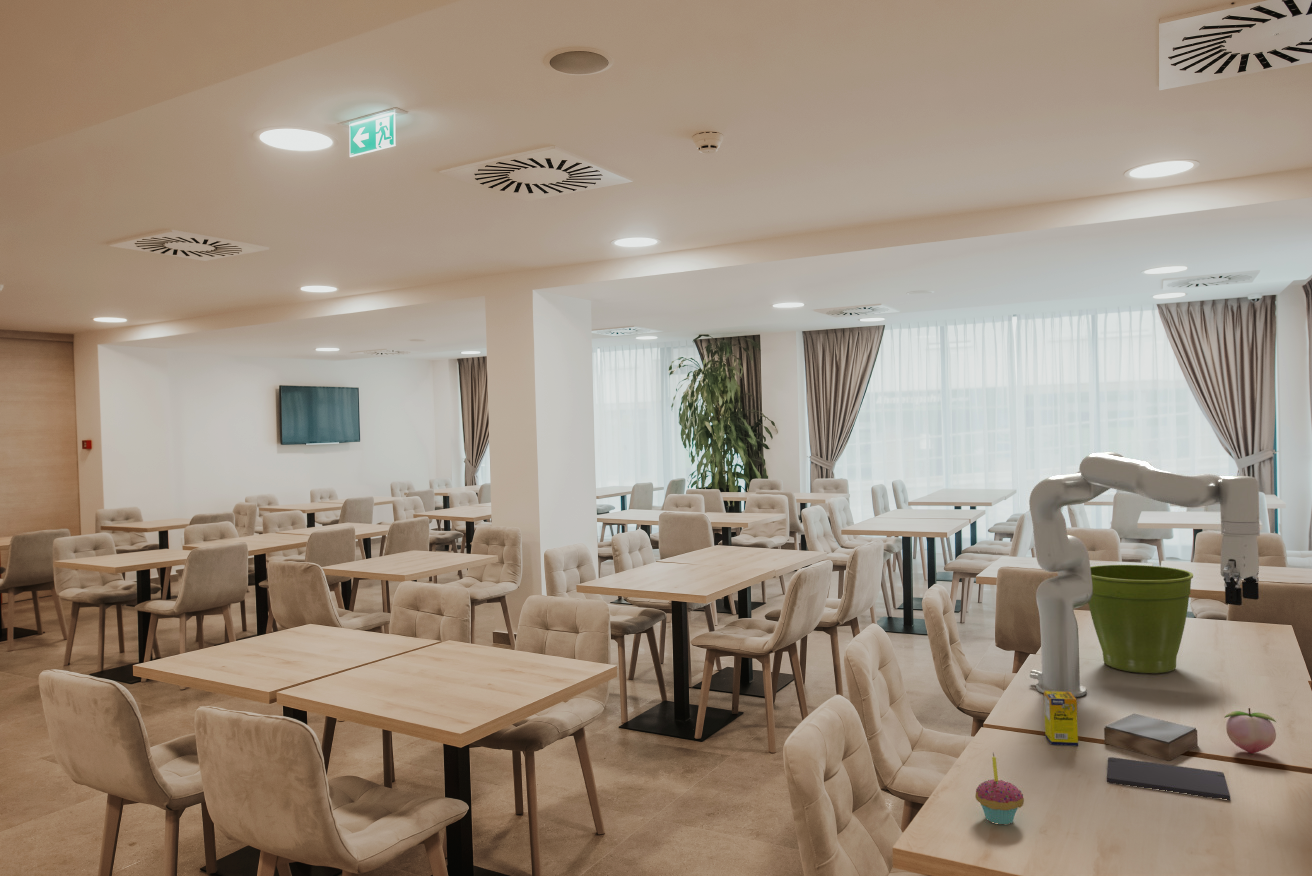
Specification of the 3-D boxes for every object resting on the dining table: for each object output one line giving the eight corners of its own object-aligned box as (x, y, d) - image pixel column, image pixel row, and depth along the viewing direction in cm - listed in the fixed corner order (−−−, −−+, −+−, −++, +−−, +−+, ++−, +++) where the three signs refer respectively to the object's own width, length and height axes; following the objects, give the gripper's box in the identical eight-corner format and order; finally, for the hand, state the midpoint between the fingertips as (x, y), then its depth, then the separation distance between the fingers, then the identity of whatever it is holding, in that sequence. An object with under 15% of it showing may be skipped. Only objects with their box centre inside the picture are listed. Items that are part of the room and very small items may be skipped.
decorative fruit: (1268, 747, 192) (1267, 703, 192) (1281, 761, 185) (1280, 715, 185) (1220, 744, 196) (1218, 700, 195) (1231, 757, 188) (1229, 711, 188)
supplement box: (1078, 746, 197) (1077, 698, 197) (1051, 745, 198) (1049, 698, 198) (1071, 737, 203) (1070, 691, 203) (1044, 736, 204) (1043, 690, 204)
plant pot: (1196, 660, 264) (1193, 567, 264) (1195, 685, 239) (1192, 582, 239) (1088, 649, 280) (1086, 562, 280) (1077, 672, 255) (1075, 576, 255)
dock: (1104, 743, 198) (1104, 726, 198) (1134, 729, 206) (1133, 713, 206) (1169, 760, 187) (1168, 742, 187) (1197, 745, 195) (1197, 728, 195)
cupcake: (968, 811, 166) (966, 749, 166) (1010, 808, 166) (1008, 746, 166) (989, 831, 157) (987, 766, 157) (1033, 828, 158) (1031, 763, 158)
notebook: (1106, 785, 177) (1230, 803, 167) (1106, 777, 177) (1230, 795, 167) (1108, 763, 188) (1223, 779, 178) (1107, 756, 188) (1223, 772, 178)
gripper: (1237, 524, 209) (1239, 594, 209) (1206, 531, 199) (1208, 604, 199) (1273, 526, 203) (1275, 598, 203) (1243, 533, 193) (1245, 609, 193)
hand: (1242, 601), depth 201 cm, fingers open, 9 cm apart
